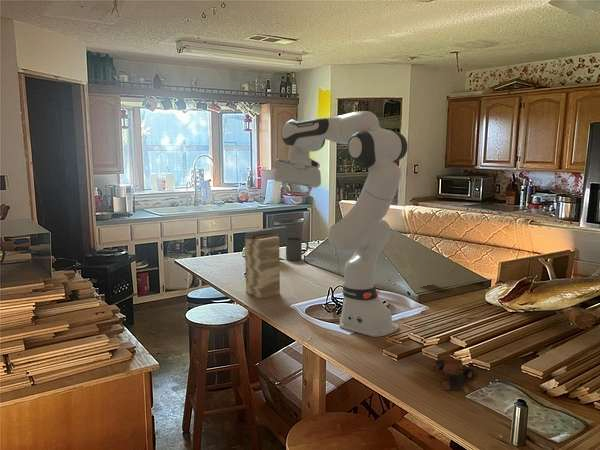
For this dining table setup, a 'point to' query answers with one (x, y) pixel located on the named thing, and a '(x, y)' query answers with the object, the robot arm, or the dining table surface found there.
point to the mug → (294, 249)
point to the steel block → (265, 232)
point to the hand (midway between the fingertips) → (296, 194)
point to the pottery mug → (455, 373)
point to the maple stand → (262, 266)
